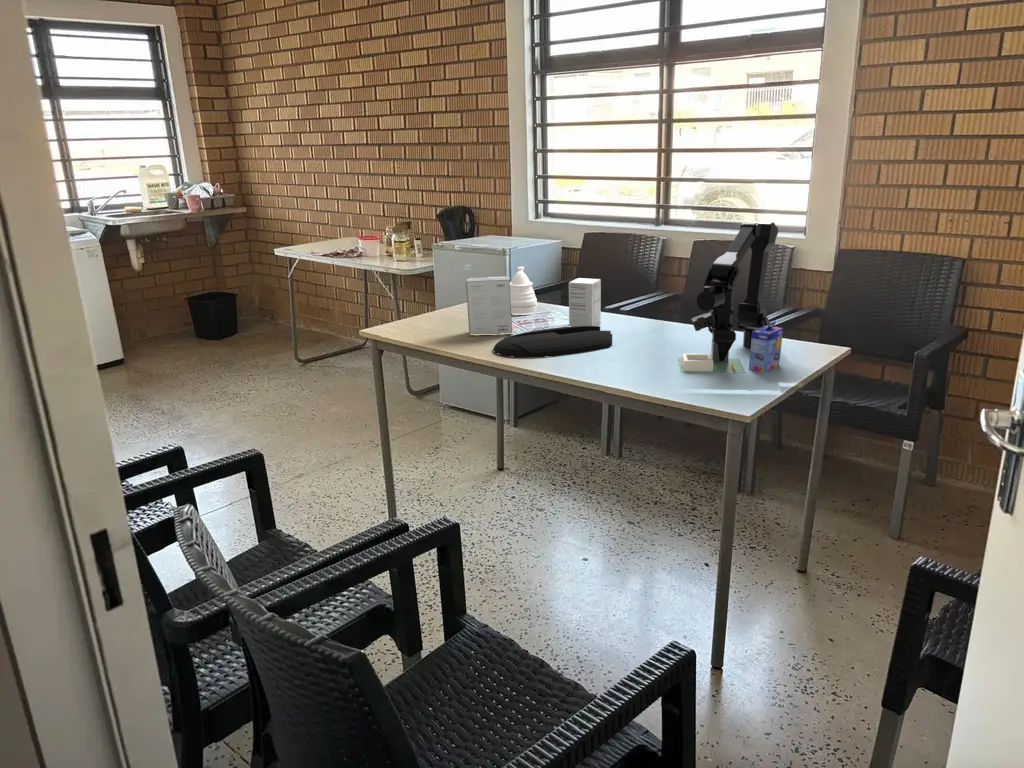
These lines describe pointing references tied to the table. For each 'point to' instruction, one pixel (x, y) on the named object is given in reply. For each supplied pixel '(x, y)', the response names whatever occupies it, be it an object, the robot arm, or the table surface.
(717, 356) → the plug
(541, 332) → the docking station
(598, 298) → the supplement box
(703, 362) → the frame
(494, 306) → the hard drive box
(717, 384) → the table surface
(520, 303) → the honey pot
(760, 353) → the ink cartridge box
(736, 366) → the board
